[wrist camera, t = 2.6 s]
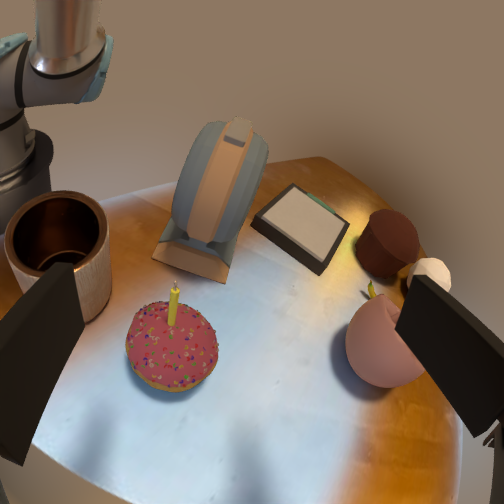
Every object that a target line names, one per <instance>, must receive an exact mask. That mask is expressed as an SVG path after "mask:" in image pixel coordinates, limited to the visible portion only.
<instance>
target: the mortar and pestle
mask: <svg viewBox="0 0 504 504" xmlns="http://www.w3.org/2000/svg"><path fill="white" fill-rule="evenodd" d="M400 313H401V310H400V309H399V308H398V307H396V305H395V304H394V303H393V302H392V301H391V300H390V299H389V298H387V297H386V296H385V295H384V294H379V295H377V296H375V297H373V298H372V299H370V300H368V301H367V302H366V303H364V304H363V305H362V306H361V307H360V308H359V309H358V310H357V312H356V313H355V314H354V316H353V318H352V319H351V321H350V324H349V326H348V329H347V333H346V341H345V344H346V353H347V357H348V360H349V363H350V365H351V367H352V368H353V370H354V371H355V372H356V374H357V375H358V376H359V377H360V378H362V379H363V380H364V381H366V382H368V383H370V384H372V385H375V386H378V387H384V388H393V387H399V386H402V385H405V384H408V383H410V382H411V381H413V380H415V379H416V378H417V377H419V376H420V375H421V374H422V373H423V372H424V371H425V368H424V367H423V366H422V364H421V363H420V362H419V360H418V359H417V358H416V356H415V355H414V354H413V353H412V351H411V350H410V349H409V347H408V346H407V345H406V344H405V342H404V341H403V340H402V338H401V337H400V336H399V335H398V333H397V332H396V331H395V330H394V328H395V326H396V323H397V321H398V318H399V315H400Z"/></svg>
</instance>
